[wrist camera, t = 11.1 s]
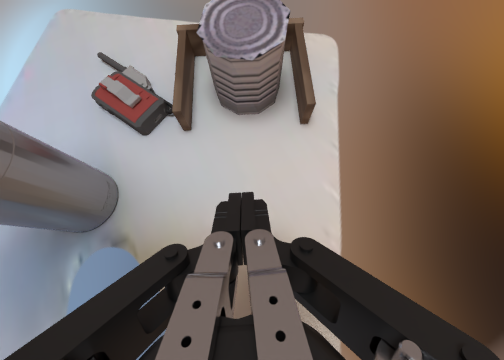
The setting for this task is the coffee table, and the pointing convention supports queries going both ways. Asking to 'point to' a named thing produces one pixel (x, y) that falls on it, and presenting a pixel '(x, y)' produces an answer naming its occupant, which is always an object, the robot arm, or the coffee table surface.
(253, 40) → the can
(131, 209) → the coffee table surface
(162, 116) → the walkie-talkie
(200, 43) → the walnut bay
